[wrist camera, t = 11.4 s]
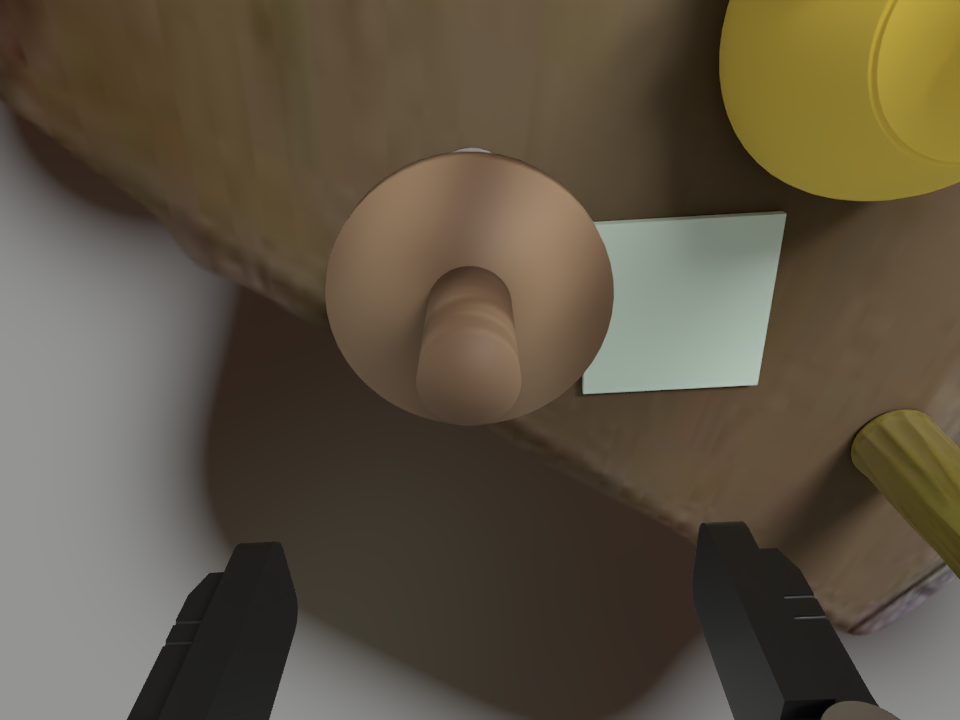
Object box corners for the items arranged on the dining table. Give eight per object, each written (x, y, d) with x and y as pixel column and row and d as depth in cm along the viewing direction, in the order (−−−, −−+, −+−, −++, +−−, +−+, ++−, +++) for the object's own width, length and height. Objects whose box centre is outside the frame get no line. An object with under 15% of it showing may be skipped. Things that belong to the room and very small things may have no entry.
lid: (614, 142, 23) (664, 191, 17) (603, 402, 28) (638, 512, 22) (308, 160, 23) (249, 214, 17) (353, 415, 29) (320, 527, 23)
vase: (876, 400, 46) (1026, 546, 34) (952, 417, 47) (1126, 566, 35) (834, 466, 49) (957, 624, 37) (906, 481, 50) (1051, 641, 37)
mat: (782, 211, 40) (786, 213, 39) (754, 380, 45) (757, 384, 45) (585, 222, 40) (587, 225, 39) (582, 389, 46) (583, 394, 45)
